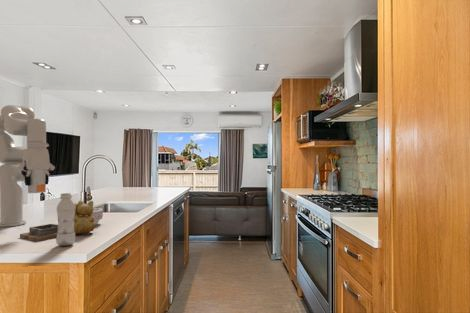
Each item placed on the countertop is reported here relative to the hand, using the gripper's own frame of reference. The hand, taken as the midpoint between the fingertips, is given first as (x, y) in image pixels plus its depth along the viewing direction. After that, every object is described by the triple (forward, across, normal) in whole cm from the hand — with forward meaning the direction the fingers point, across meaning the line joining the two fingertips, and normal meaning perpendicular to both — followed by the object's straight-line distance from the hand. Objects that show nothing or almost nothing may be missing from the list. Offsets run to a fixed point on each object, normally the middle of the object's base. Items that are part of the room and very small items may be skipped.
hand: (36, 184), depth 145 cm
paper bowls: (+22, -22, +3) cm, 32 cm away
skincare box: (+4, 0, 0) cm, 4 cm away
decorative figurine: (+23, -9, +21) cm, 32 cm away
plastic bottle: (+23, +6, +32) cm, 40 cm away
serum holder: (+22, +1, +9) cm, 24 cm away
